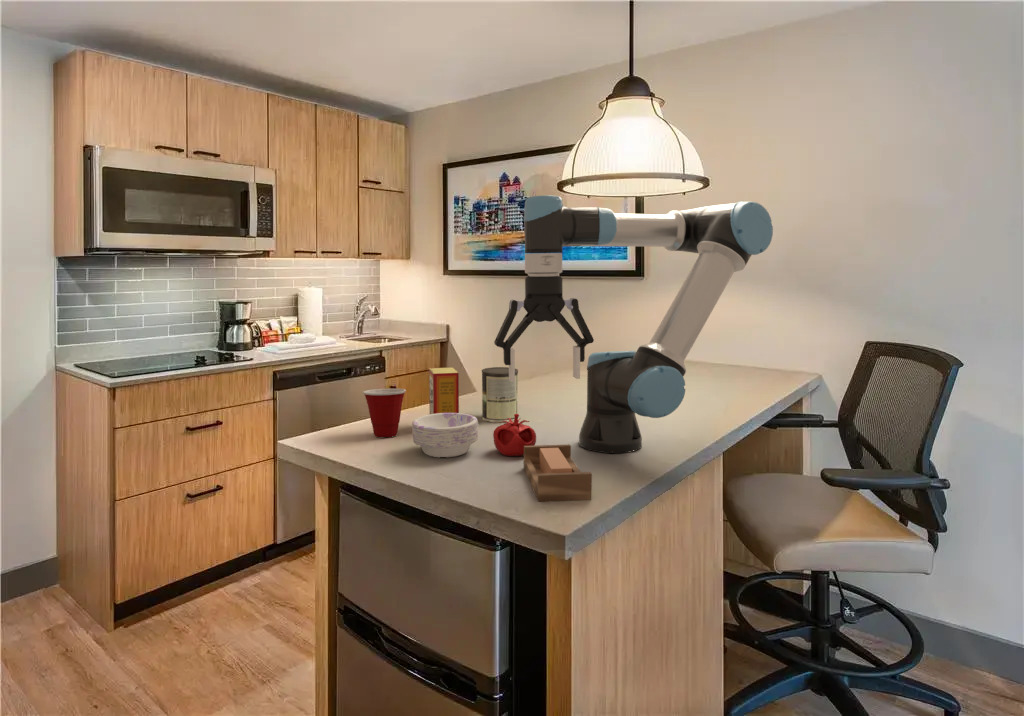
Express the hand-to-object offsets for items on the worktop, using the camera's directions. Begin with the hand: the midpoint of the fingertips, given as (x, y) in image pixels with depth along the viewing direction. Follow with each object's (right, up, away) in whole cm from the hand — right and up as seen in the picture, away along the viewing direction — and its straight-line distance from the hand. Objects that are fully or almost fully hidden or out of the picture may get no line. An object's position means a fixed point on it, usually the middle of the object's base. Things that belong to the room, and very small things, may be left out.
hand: (544, 379), depth 133 cm
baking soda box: (-25, -15, +41) cm, 50 cm away
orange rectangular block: (+2, -20, -3) cm, 20 cm away
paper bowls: (-22, -18, +18) cm, 34 cm away
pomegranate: (-6, -18, +18) cm, 26 cm away
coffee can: (-10, -13, +52) cm, 54 cm away
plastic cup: (-39, -16, +33) cm, 54 cm away
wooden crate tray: (+2, -21, -3) cm, 21 cm away
